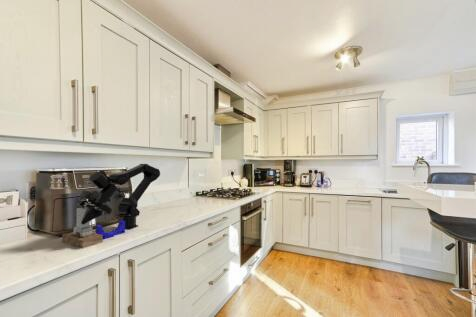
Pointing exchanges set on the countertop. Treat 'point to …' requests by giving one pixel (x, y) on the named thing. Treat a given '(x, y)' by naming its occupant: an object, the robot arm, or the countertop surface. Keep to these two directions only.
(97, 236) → the rail
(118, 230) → the cable clip
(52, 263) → the countertop surface
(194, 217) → the countertop surface
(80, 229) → the grey tower on plinth
